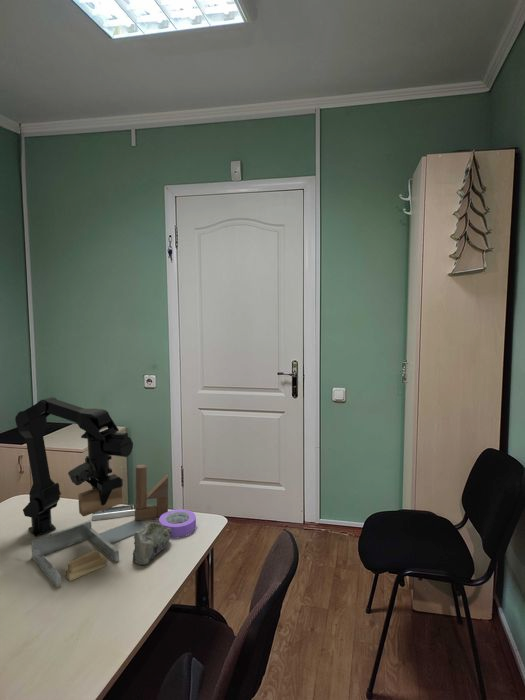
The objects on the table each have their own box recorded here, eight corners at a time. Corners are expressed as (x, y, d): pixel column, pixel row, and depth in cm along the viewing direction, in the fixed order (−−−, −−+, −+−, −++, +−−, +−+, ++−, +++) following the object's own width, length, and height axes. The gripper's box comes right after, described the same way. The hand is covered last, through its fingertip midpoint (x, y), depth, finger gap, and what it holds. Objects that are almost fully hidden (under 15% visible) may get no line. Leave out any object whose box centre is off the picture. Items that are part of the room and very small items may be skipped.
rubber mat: (97, 535, 140) (97, 534, 140) (137, 519, 150) (137, 518, 150) (108, 545, 134) (108, 544, 134) (150, 528, 144) (150, 527, 144)
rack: (32, 557, 128) (31, 541, 128) (90, 535, 140) (89, 520, 139) (57, 587, 115) (55, 569, 114) (119, 560, 127) (118, 543, 126)
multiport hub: (93, 515, 154) (93, 509, 153) (137, 510, 158) (136, 503, 157) (92, 521, 149) (91, 515, 149) (137, 516, 153) (136, 509, 153)
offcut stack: (65, 575, 120) (64, 562, 119) (101, 560, 127) (100, 547, 126) (70, 581, 117) (69, 567, 117) (107, 565, 124) (106, 552, 124)
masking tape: (193, 517, 152) (193, 507, 151) (198, 535, 140) (198, 523, 140) (158, 522, 148) (158, 511, 148) (160, 540, 137) (159, 529, 137)
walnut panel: (79, 512, 132) (78, 493, 131) (118, 500, 140) (117, 481, 139) (83, 516, 129) (82, 496, 129) (122, 503, 137) (121, 484, 137)
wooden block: (167, 518, 151) (168, 466, 149) (134, 521, 148) (134, 468, 146) (167, 513, 154) (167, 462, 153) (134, 516, 151) (135, 464, 150)
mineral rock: (169, 539, 138) (168, 508, 137) (181, 556, 129) (180, 523, 128) (127, 551, 132) (126, 518, 130) (136, 570, 122) (135, 535, 121)
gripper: (59, 451, 134) (62, 501, 136) (83, 468, 120) (86, 523, 122) (96, 443, 141) (98, 490, 143) (122, 458, 128) (124, 510, 130)
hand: (101, 503), depth 134 cm, fingers closed on walnut panel, 3 cm apart
